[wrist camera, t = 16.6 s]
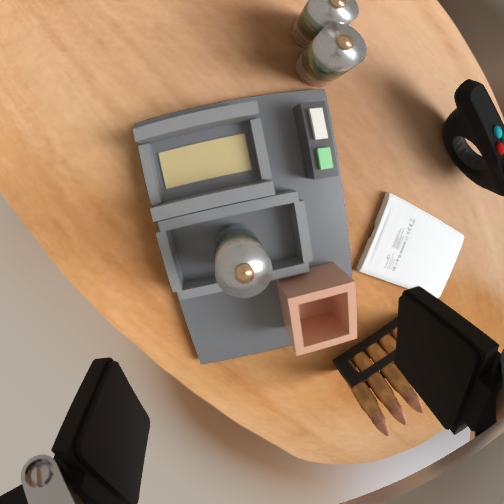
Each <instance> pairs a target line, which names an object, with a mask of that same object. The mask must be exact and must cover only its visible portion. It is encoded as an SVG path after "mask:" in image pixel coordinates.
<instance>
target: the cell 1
mask: <svg viewBox="0 0 504 504" xmlns="http://www.w3.org/2000/svg"><path fill="white" fill-rule="evenodd" d="M214 264H215V277H216V281H217V283H218V285H219V286H220V288H221V289H222V290H223V291H224V292H225V293H227V294H228V295H230V296H233V297H236V298H249V297H253V296H255V295H258V294H259V293H261V292H262V291H263V290H264V289H265V288H266V287H267V286H268V284H269V282H270V280H271V277H272V272H273V270H272V263H271V260H270V258H269V256H268V255H267V253H266V251H265V249H264V248H263V246H262V244H261V243H260V241H259V239H258V238H257V236H256V235H255V233H254V232H253V231H252V229H250V228H249V227H248V226H246V225H243V224H238V223H235V224H230V225H227V226H225V227H224V228H222V229H221V230H220V231H219V233H218V234H217V236H216V238H215V244H214Z"/></svg>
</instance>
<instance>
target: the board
mask: <svg viewBox="0 0 504 504" xmlns="http://www.w3.org/2000/svg"><path fill="white" fill-rule="evenodd" d="M135 127H136V128H134V129H133V134H134V139H135V142H137V143H139V146H138V149H139V154H140V159H141V164H142V168H143V173H144V177H145V182H146V186H147V191H148V195H149V199H150V203H151V205H152V208H150V212H151V215H152V219H153V222H156V223H157V226H158V231H157V232H156V237H157V240H158V244H159V248H160V251H161V255H162V258H163V262H164V265H165V269H166V272H167V275H168V278H169V282H170V285H171V288H172V291H173V292H176V293H177V296H178V299H179V302H180V305H181V308H182V311H183V314H184V318H185V321H186V323H187V326H188V329H189V332H190V335H191V338H192V341H193V344H194V347H195V349H196V352H197V355H198V358H199V360H200V363H201V364H207V363H212V362H218V361H223V360H228V359H233V358H238V357H242V356H247V355H252V354H256V353H261V352H265V351H269V350H274V349H278V348H282V347H286V346H290V345H292V344H291V341H290V339H289V337H288V334H287V332H286V329H285V327H284V321H283V315H282V310H281V304H280V298H279V293H278V287H277V281H276V279H280V278H284V277H289V276H293V275H297V274H301V273H305V272H309V271H310V270H309V268H310V267H314V266H318V265H323V264H327V263H331V262H334V263H335V264H336V265H337V266H338V267H339V268H341V269H342V270H343V271H344V272H345V273H346V274H347V275H349V276H350V277H351V278H352V267H351V255H350V244H349V234H348V225H347V216H346V208H345V200H344V193H343V186H342V179H341V172H340V166H339V160H338V154H337V148H336V143H335V137H334V132H333V127H332V122H331V117H330V112H329V107H328V102H327V98H326V93H325V89H317V90H304V91H294V92H284V93H276V94H268V95H261V96H254V97H247V98H241V99H236V100H230V101H225V102H219V103H214V104H209V105H205V106H200V107H196V108H191V109H187V110H183V111H179V112H175V113H171V114H167V115H163V116H160V117H156V118H153V119H149V120H146V121H142V122H139V123H136V124H135ZM235 223H238V224H243V225H246V226H248V227H249V228H250V229H252V231H253V232H254V233H255V235H256V236H257V238H258V239H259V241H260V243H261V244H262V246H263V248H264V249H265V251H266V253H267V255H268V256H269V258H270V260H271V263H272V270H273V272H272V277H271V280H270V282H269V284H268V286H267V287H266V288H265V289H264V290H263V291H262V292H261V293H259V294H258V295H255V296H253V297H249V298H236V297H233V296H230V295H228V294H227V293H225V292H224V291H223V290H222V289H221V288H220V286H219V285H218V283H217V281H216V277H215V264H214V244H215V238H216V236H217V234H218V233H219V231H220V230H221V229H222V228H224V227H225V226H227V225H230V224H235Z"/></svg>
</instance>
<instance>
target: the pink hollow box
mask: <svg viewBox="0 0 504 504" xmlns="http://www.w3.org/2000/svg"><path fill="white" fill-rule="evenodd" d="M309 270H310V271H309V272H305V273H301V274H297V275H293V276H289V277H284V278H280V279H276V281H277V287H278V293H279V298H280V304H281V310H282V315H283V321H284V327H285V329H286V332H287V334H288V337H289V339H290V341H291V344H292V346H293V349H294V351H295V353H296V356H298V355H302V354H306V353H310V352H313V351H317V350H320V349H324V348H327V347H331V346H334V345H337V344H341V343H344V342H347V341H350V340H353V339H356V338H357V310H356V288H355V281H354V280H353V279H352V278H351V277H350V276H349V275H347V274H346V273H345V272H344V271H343V270H342V269H341V268H339V267H338V266H337V265H336V264H335V263H334V262H331V263H327V264H323V265H318V266H314V267H310V268H309Z"/></svg>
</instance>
